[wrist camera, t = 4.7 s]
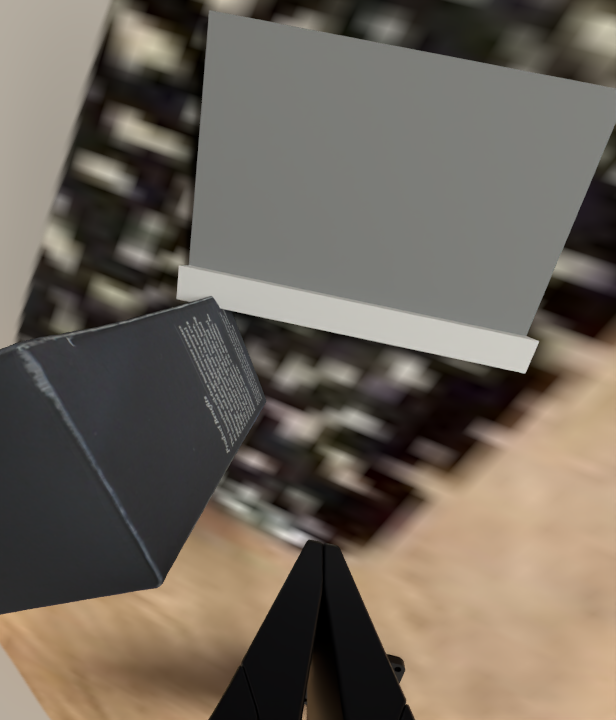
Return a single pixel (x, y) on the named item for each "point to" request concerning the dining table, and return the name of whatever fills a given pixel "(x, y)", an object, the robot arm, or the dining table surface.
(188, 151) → the dining table surface
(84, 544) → the small box
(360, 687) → the robot arm
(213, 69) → the mat
